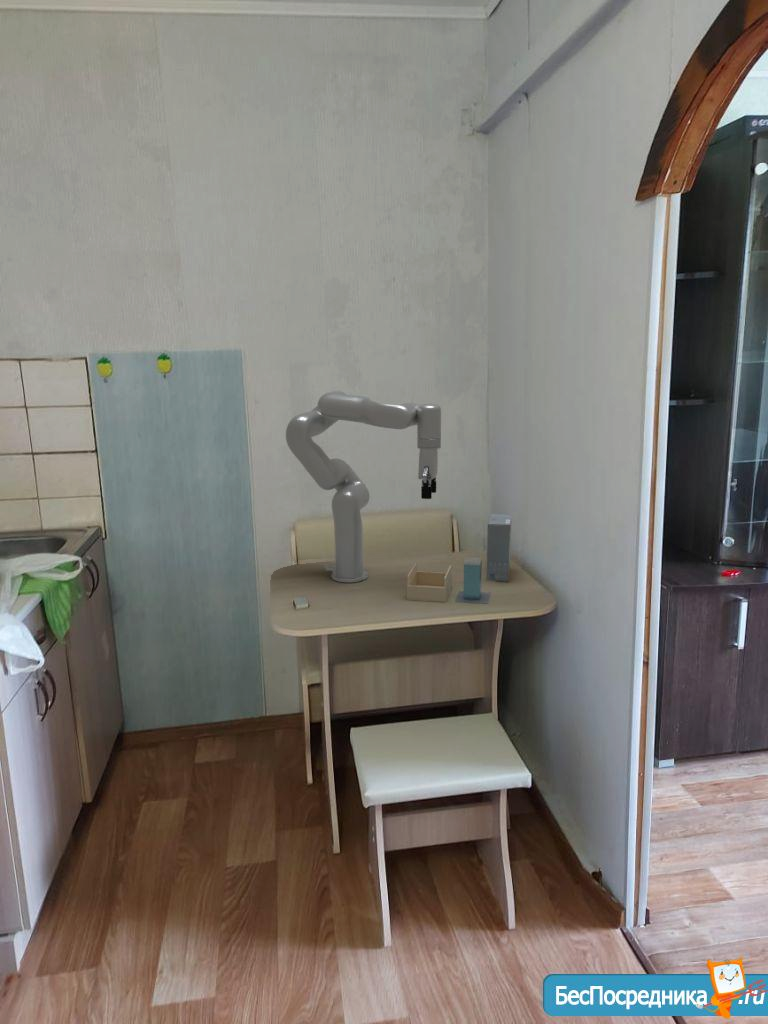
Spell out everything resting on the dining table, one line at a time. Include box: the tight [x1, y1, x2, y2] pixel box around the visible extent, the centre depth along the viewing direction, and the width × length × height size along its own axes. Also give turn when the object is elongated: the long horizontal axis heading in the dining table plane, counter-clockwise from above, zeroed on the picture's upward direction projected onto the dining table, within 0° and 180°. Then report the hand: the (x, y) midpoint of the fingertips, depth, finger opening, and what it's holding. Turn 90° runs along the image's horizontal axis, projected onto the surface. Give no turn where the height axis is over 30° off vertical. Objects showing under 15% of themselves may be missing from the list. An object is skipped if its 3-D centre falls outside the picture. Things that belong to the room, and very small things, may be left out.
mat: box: [454, 590, 491, 605], centre depth 238 cm, size 10×10×1 cm
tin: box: [463, 556, 483, 600], centre depth 236 cm, size 5×5×12 cm
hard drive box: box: [485, 513, 513, 582], centre depth 259 cm, size 16×8×20 cm, turn 168°
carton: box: [406, 562, 453, 603], centre depth 242 cm, size 12×15×8 cm
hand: (428, 495), depth 245 cm, fingers open, 9 cm apart
